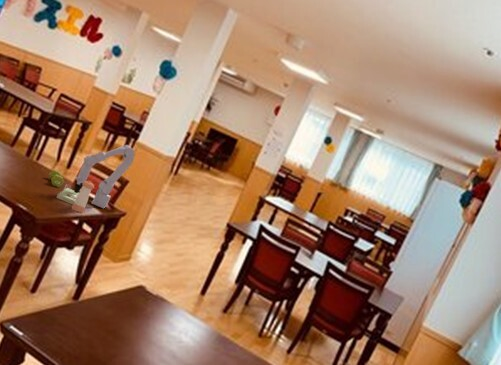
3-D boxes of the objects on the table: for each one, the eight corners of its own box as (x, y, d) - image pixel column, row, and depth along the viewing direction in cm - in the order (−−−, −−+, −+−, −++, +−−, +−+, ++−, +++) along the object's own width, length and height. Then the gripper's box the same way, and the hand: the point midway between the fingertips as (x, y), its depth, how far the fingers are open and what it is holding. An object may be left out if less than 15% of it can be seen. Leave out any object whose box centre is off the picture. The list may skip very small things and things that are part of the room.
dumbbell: (61, 188, 340) (65, 179, 340) (49, 184, 336) (53, 174, 336) (58, 181, 354) (62, 172, 354) (47, 177, 350) (51, 168, 350)
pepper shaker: (70, 209, 307) (83, 180, 305) (71, 206, 313) (84, 177, 312) (82, 213, 309) (95, 184, 307) (83, 210, 316) (96, 182, 314)
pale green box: (85, 199, 341) (92, 186, 341) (78, 206, 318) (84, 192, 317) (65, 191, 339) (71, 177, 338) (56, 197, 316) (62, 182, 315)
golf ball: (71, 202, 324) (75, 200, 327) (74, 199, 321) (78, 197, 325) (67, 198, 323) (71, 195, 326) (70, 194, 321) (74, 192, 324)
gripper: (80, 169, 339) (72, 188, 340) (75, 172, 325) (67, 191, 326) (90, 173, 340) (82, 192, 341) (86, 177, 326) (78, 196, 327)
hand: (75, 192), depth 334 cm, fingers closed
